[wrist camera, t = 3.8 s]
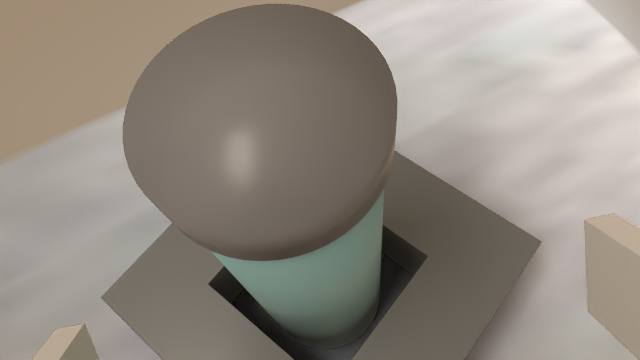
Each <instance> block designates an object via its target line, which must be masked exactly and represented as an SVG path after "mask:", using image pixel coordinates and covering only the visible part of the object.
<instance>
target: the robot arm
mask: <svg viewBox="0 0 640 360" xmlns="http://www.w3.org/2000/svg"><path fill="white" fill-rule="evenodd" d="M584 227H585V252H586V277H587V302H588V312H589V313H590V314H591V315H592V316H593V317H594V318H595V319H596V320H597V321H598V322H600V323H601V324H602V325H603V326H604V327H605V328H606V329H607V330H608V331H609V332H610V333H611V334H612V335H613V336H614V337H615V338H616V339H617V340H618V341H619V342H620V343H621V344H623V345H624V346H625V347H626V348H627V349H628V350H629V351H630V352H631V353H632V354H633V355H634V356H635V357H636V358H637V359H638V360H640V228H638V227H636V226H635V225H633V224H631V223H629V222H628V221H626V220H624V219H622V218H621V217H619V216H617V215H615V214H614V213H613V214H609V215H604V216H599V217H594V218H589V219H585V220H584ZM32 360H99V358H98V356H97V353H96V351H95V348H94V346H93V343H92V341H91V338H90V336H89V333H88V331H87V328H86V326H85V323H84V324H79V325H74V326H69V327H64V328H60V329H55V331H54V332H53V333H52V335H51V336H50V337H49V338H48V340H47V341H46V342H45V343H44V345H43V346H42V347H41V349H40V350H39V351H38V352H37V354H36V355H35V356H34V358H33V359H32Z"/></svg>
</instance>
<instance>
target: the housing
mask: <svg viewBox="0 0 640 360" xmlns="http://www.w3.org/2000/svg"><path fill="white" fill-rule="evenodd" d="M540 244H541V241H539V240H538V239H536V238H535V237H533V236H531V235H530V234H528V233H526V232H525V231H523V230H522V229H520V228H518V227H517V226H515V225H514V224H512V223H510V222H509V221H507V220H506V219H504V218H502V217H501V216H499V215H497V214H496V213H494V212H493V211H491V210H489V209H488V208H486V207H485V206H483V205H481V204H480V203H478V202H476V201H475V200H473V199H472V198H470V197H468V196H467V195H465V194H464V193H462V192H460V191H459V190H457V189H455V188H454V187H452V186H451V185H449V184H447V183H446V182H444V181H443V180H441V179H439V178H438V177H436V176H435V175H433V174H431V173H430V172H428V171H426V170H425V169H423V168H422V167H420V166H418V165H417V164H415V163H414V162H412V161H410V160H409V159H407V158H405V157H404V156H402V155H401V154H399V153H397V152H396V151H394V157H393V162H392V168H391V171H390V174H389V177H388V180H387V183H386V185H385V187H384V201H383V224H382V248H381V252H382V253H383V254H384V255H386V256H387V257H389V258H390V259H391V260H393V261H394V262H396V263H397V264H398V265H400V266H401V267H403V268H404V269H405V270H407V271H408V272H410V273H411V274H412V275H414V276H413V278H412V279H411V280H410V282H409V283H408V284H407V286H406V287H405V288H404V290H403V291H402V293H401V294H400V295H399V297H398V298H397V299H396V301H395V302H394V303H393V305H392V306H391V307H390V309H389V310H388V311H387V313H386V314H385V316H384V317H383V318H382V320H381V321H380V322H379V324H378V325H377V326H376V328H375V329H374V330H373V332H372V333H371V334H370V336H369V337H368V338H367V340H366V341H365V343H364V344H363V345H362V347H361V348H360V349H359V351H358V352H357V353H356V355H355V356H354V357H353V359H352V360H464V359H465V358H466V356H467V355H468V353H469V352H470V350H471V349H472V347H473V346H474V344H475V343H476V341H477V340H478V338H479V336H480V335H481V333H482V332H483V330H484V329H485V327H486V326H487V324H488V323H489V321H490V320H491V318H492V317H493V315H494V314H495V312H496V311H497V309H498V308H499V306H500V305H501V303H502V302H503V300H504V299H505V297H506V296H507V294H508V292H509V291H510V289H511V288H512V286H513V285H514V283H515V282H516V280H517V279H518V277H519V276H520V274H521V273H522V271H523V270H524V268H525V267H526V265H527V264H528V262H529V261H530V259H531V258H532V256H533V255H534V253H535V251H536V250H537V248H538V247H539V245H540ZM243 289H244V287H243V285H242V284H241V283H240V282H239V281H238V280H237V279H236V278H235V277H234V276H233V275H232V274H231V272H230V271H229V270H228V269H227V268H226V267H225V266H224V265H223V264H222V263H221V262H220V260H219V259H218V258H217V257H216V256H215V255H214V254H213V253H212V252H211V251H210V250H208V249H206V248H204V247H202V246H200V245H198V244H197V243H195V242H194V241H192V240H191V239H190V238H188V237H187V236H185V235H184V234H183V233H182V232H181V231H180V230H179V229H178V228H177V227H176V226H175V225H174V224H173V223H172V224H171V225H170V226H169V227H168V228H167V229H166V230H165V231H164V233H163V234H162V235H161V236H160V237H159V238H158V239H157V240H156V241H155V242H154V243H153V244H152V245H151V246H150V247H149V248H148V249H147V250H146V251H145V252H144V253H143V254H142V255H141V256H140V257H139V258H138V259H137V261H136V262H135V263H134V264H133V265H132V266H131V267H130V268H129V269H128V270H127V271H126V272H125V273H124V274H123V275H122V276H121V277H120V278H119V279H118V280H117V281H116V282H115V283H114V284H113V285H112V286H111V287H110V289H109V290H108V291H107V292H106V293H105V294H104V295H103V296H102V297H101V298H102V299H103V300H104V301H105V302H106V303H107V304H108V305H109V306H110V307H111V308H112V309H113V310H114V311H115V312H116V313H117V314H118V315H119V316H120V317H121V318H122V319H123V320H124V321H125V322H126V323H127V324H128V325H129V326H130V327H131V328H132V330H133V331H134V332H135V333H136V334H137V335H138V336H139V337H140V338H141V339H142V340H143V341H144V342H145V343H146V344H147V345H148V346H149V347H150V348H151V349H152V350H153V351H154V352H155V353H156V354H157V355H158V356H159V357H160V358H161V359H162V360H294V359H293V358H292V357H291V356H290V355H288V354H287V353H286V352H285V351H284V350H283V349H282V348H280V347H279V346H278V345H277V344H276V343H275V342H274V341H272V340H271V339H270V338H269V337H268V336H267V335H266V334H264V333H263V332H262V331H261V330H260V329H259V328H258V327H257V326H255V325H254V324H253V323H252V322H251V321H250V320H249V319H247V318H246V317H245V316H244V315H243V314H242V313H241V312H239V311H238V310H237V309H236V308H235V307H234V306H233V305H231V303H232V302H233V301H234V300H235V299H236V298H237V296H238V295H239V294H240V293H241V292H242V291H243Z"/></svg>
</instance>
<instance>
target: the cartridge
mask: <svg viewBox="0 0 640 360" xmlns="http://www.w3.org/2000/svg"><path fill="white" fill-rule="evenodd" d="M396 120H397V95H396V87H395V83H394V80H393V76H392V73H391V70H390V68H389V66H388V64H387V62H386V60H385V58H384V57H383V55H382V54H381V52H380V51H379V50H378V48H377V47H376V46H375V45H374V43H373V42H372V41H371V40H370V39H369V38H368V37H367V36H366V35H365V34H363V33H362V32H361V31H360V30H358V29H357V28H356V27H355V26H353V25H351V24H350V23H348V22H346V21H345V20H343V19H341V18H339V17H337V16H334V15H332V14H330V13H327V12H324V11H321V10H318V9H314V8H310V7H305V6H300V5H290V4H264V5H254V6H248V7H243V8H239V9H234V10H231V11H228V12H225V13H221V14H219V15H216V16H214V17H211V18H209V19H206V20H205V21H202V22H201V23H199V24H197V25H195V26H193V27H191V28H190V29H188V30H186V31H185V32H183V33H182V34H181V35H179V36H178V37H176V38H175V39H174V40H173V41H172V42H170V43H169V44H167V45H166V46H165V47H164V48H163V49H162V50H161V51H160V52H159V53H158V54H157V55H156V56H155V57H154V58H153V60H152V61H151V62H150V63H149V65H148V66H147V67H146V68H145V70H144V72H143V73H142V75H141V76H140V78H139V79H138V81H137V83H136V85H135V87H134V89H133V91H132V93H131V95H130V98H129V102H128V104H127V107H126V111H125V117H124V123H123V144H124V152H125V156H126V160H127V163H128V166H129V169H130V171H131V173H132V175H133V177H134V179H135V181H136V183H137V184H138V186H139V187H140V188H141V190H142V191H143V193H144V194H145V195H146V196H147V197H148V198H149V199H150V200H151V201H152V202H153V203H154V204H155V206H156V207H157V208H158V209H159V210H160V211H161V212H162V213H163V214H164V215H165V216H166V217H167V218H168V219H169V220H170V221H171V222H172V223H173V224H174V225H175V226H176V227H177V228H178V229H179V230H180V231H181V232H182V233H183V234H184V235H185V236H187V237H188V238H190V239H191V240H192V241H194V242H195V243H197V244H198V245H200V246H202V247H204V248H206V249H208V250H210V251H211V252H212V253H213V254H214V255H215V256H216V257H217V258H218V259H219V260H220V262H221V263H222V264H223V265H224V266H225V267H226V268H227V269H228V270H229V271H230V272H231V274H232V275H233V276H234V277H235V278H236V279H237V280H238V281H239V282H240V283H241V284H242V285H243V287H244V288H245V289H246V290H247V291H248V292H249V293H250V294H251V295H252V296H253V297H254V298H255V300H256V301H257V302H258V303H259V304H260V305H261V306H262V307H263V308H264V309H265V310H266V311H267V313H268V314H269V315H270V316H271V317H272V318H273V319H274V320H275V321H276V322H277V323H278V324H279V326H280V327H281V328H282V329H283V330H284V331H285V332H286V333H287V334H288V335H289V336H290V337H291V338H293V339H294V340H295V341H297V342H299V343H301V344H303V345H305V346H308V347H312V348H316V349H333V348H338V347H341V346H344V345H346V344H348V343H350V342H352V341H354V340H355V339H357V338H358V337H359V336H361V335H362V334H363V333H364V332H365V331H366V329H367V328H368V327H369V326H370V324H371V323H372V321H373V319H374V317H375V315H376V312H377V309H378V304H379V295H380V271H381V248H382V224H383V201H384V187H385V185H386V183H387V180H388V177H389V174H390V171H391V168H392V162H393V157H394V147H395V134H396Z"/></svg>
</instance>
